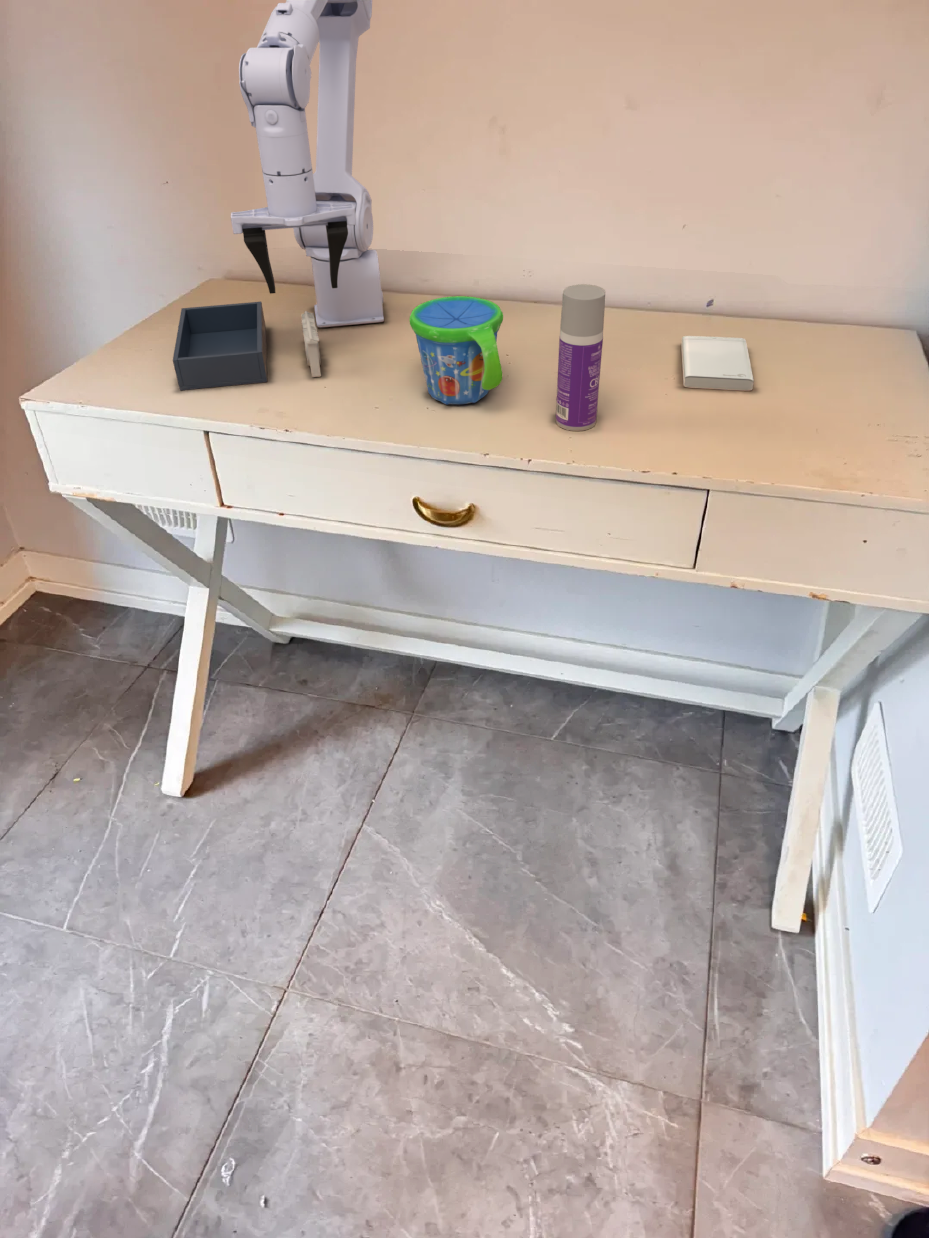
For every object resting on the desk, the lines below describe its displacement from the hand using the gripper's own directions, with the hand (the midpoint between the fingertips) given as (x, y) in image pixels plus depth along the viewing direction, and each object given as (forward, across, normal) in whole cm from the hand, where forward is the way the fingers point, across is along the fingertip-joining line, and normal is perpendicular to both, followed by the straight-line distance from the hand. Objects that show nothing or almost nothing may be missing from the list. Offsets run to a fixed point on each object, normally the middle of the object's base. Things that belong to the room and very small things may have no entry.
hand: (303, 288), depth 112 cm
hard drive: (+10, +50, -14) cm, 53 cm away
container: (+10, +29, -24) cm, 39 cm away
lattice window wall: (+10, 0, 0) cm, 10 cm away
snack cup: (+10, +17, -14) cm, 24 cm away
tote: (+9, -12, +3) cm, 15 cm away
